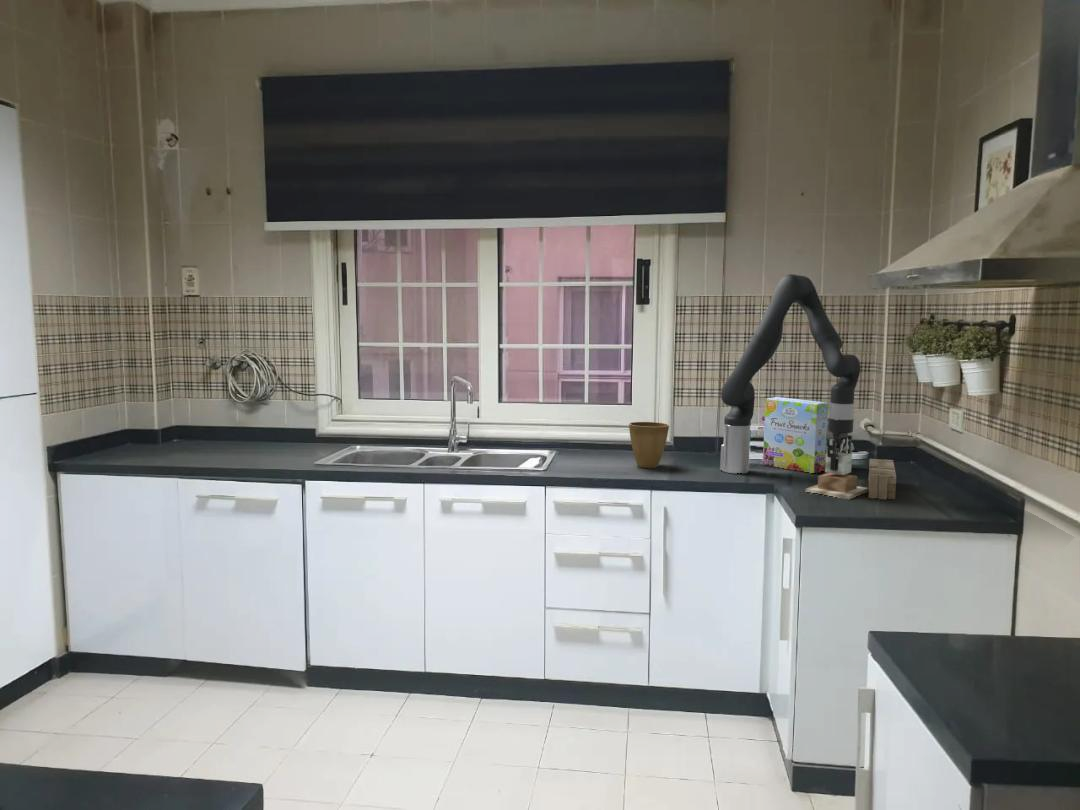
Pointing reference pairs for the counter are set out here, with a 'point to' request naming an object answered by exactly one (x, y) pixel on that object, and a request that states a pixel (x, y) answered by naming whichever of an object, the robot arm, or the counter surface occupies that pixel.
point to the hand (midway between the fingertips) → (838, 468)
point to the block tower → (882, 479)
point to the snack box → (795, 434)
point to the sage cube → (840, 464)
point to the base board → (838, 494)
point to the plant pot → (648, 442)
